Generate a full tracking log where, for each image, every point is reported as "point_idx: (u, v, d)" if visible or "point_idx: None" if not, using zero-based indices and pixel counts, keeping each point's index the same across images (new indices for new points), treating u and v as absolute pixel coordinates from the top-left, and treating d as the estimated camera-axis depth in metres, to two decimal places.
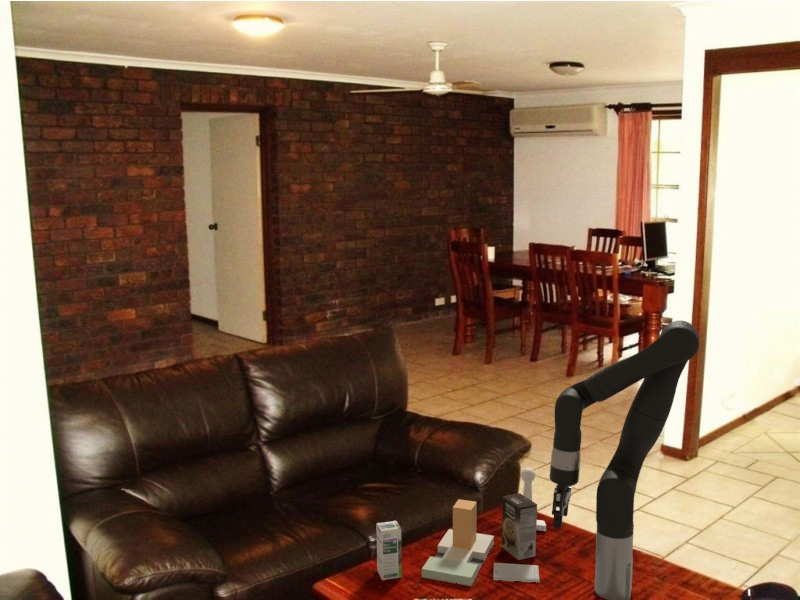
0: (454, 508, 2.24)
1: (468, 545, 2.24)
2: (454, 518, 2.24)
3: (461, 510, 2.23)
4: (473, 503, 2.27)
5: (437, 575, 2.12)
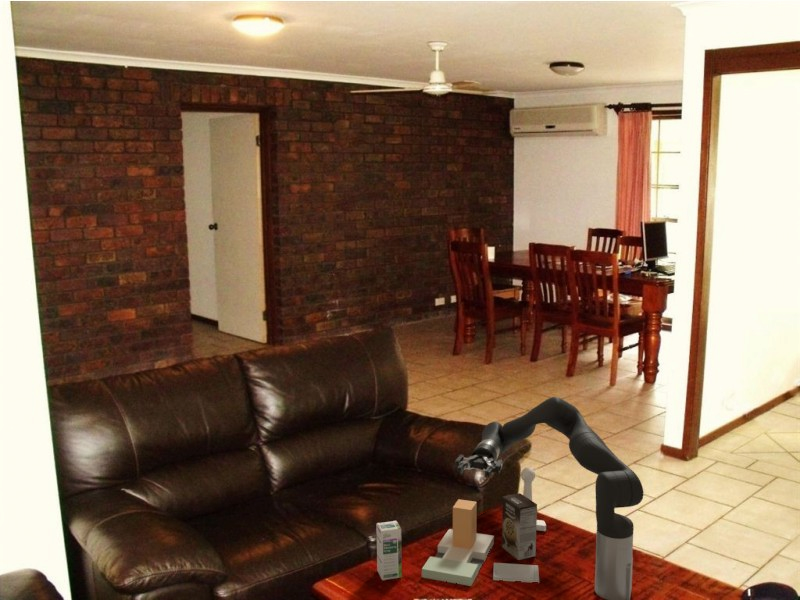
0: (454, 508, 2.24)
1: (468, 545, 2.24)
2: (454, 518, 2.24)
3: (461, 510, 2.23)
4: (473, 503, 2.27)
5: (437, 575, 2.12)
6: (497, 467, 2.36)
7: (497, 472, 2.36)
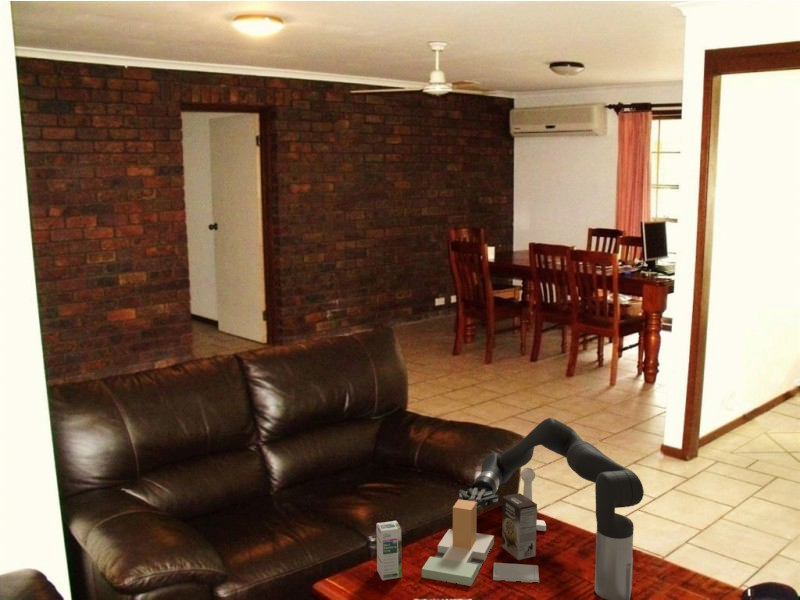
0: (454, 508, 2.24)
1: (468, 545, 2.24)
2: (454, 518, 2.24)
3: (461, 510, 2.23)
4: (473, 503, 2.27)
5: (437, 575, 2.12)
6: (482, 500, 2.37)
7: (482, 505, 2.37)
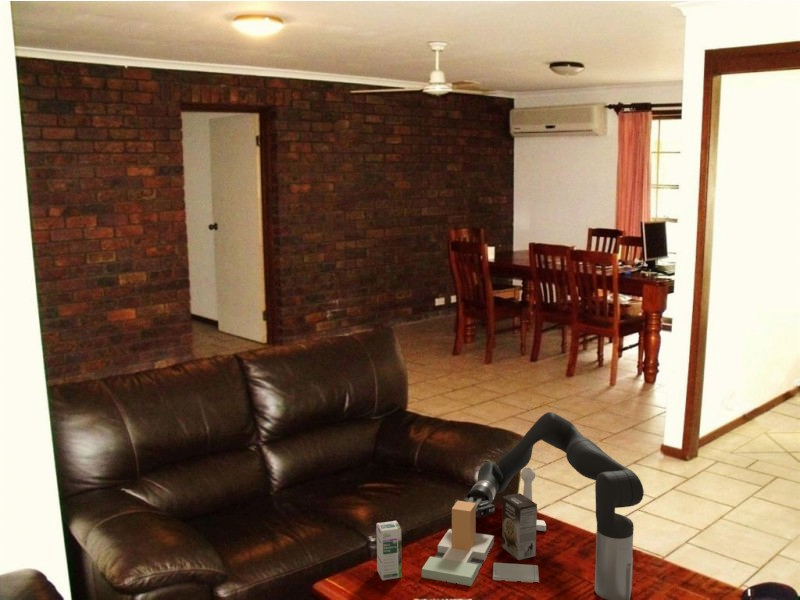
0: (453, 509, 2.23)
1: (467, 547, 2.23)
2: (453, 519, 2.24)
3: (460, 511, 2.22)
4: (472, 504, 2.26)
5: (437, 575, 2.12)
6: (478, 510, 2.32)
7: (478, 515, 2.32)
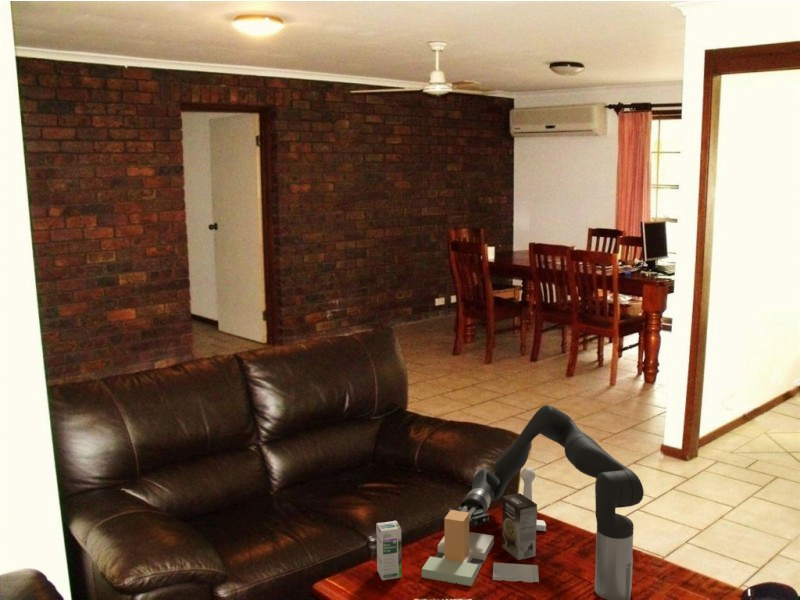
0: (446, 519, 2.17)
1: (460, 558, 2.17)
2: (446, 530, 2.17)
3: (453, 521, 2.16)
4: (465, 514, 2.19)
5: (437, 575, 2.12)
6: (472, 519, 2.25)
7: (472, 525, 2.26)
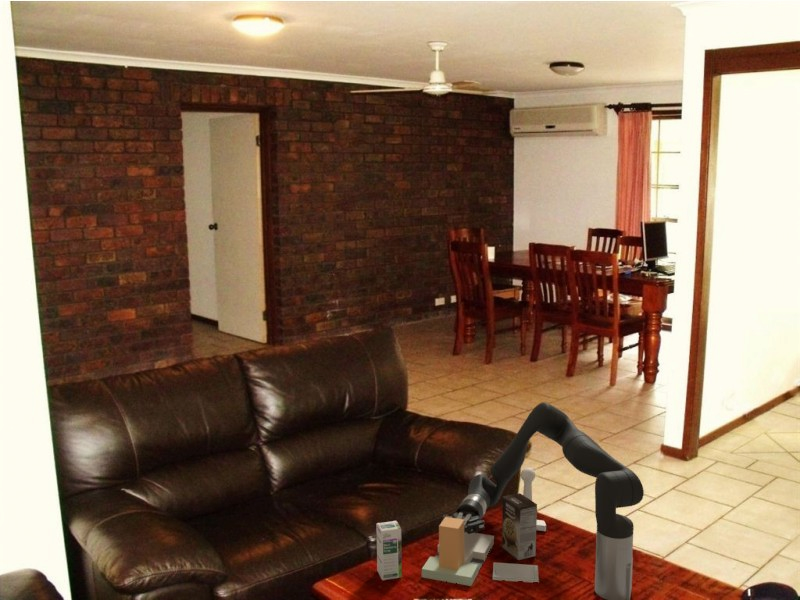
0: (440, 527, 2.12)
1: (455, 566, 2.12)
2: (440, 537, 2.13)
3: (448, 528, 2.11)
4: (461, 521, 2.15)
5: (437, 575, 2.12)
6: (467, 526, 2.21)
7: (468, 532, 2.21)
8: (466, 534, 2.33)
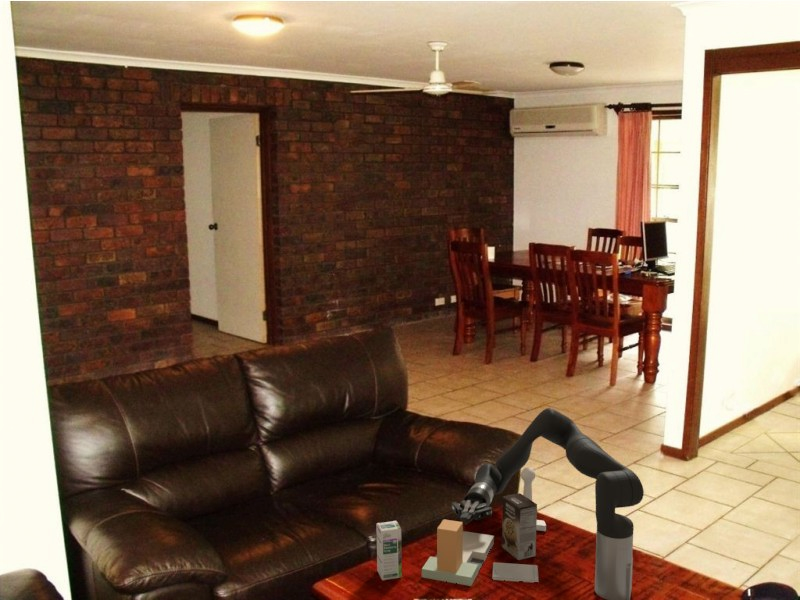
0: (438, 529, 2.11)
1: (453, 568, 2.11)
2: (438, 540, 2.11)
3: (446, 531, 2.10)
4: (459, 524, 2.13)
5: (437, 575, 2.12)
6: (475, 513, 2.29)
7: (475, 518, 2.30)
8: (466, 534, 2.33)
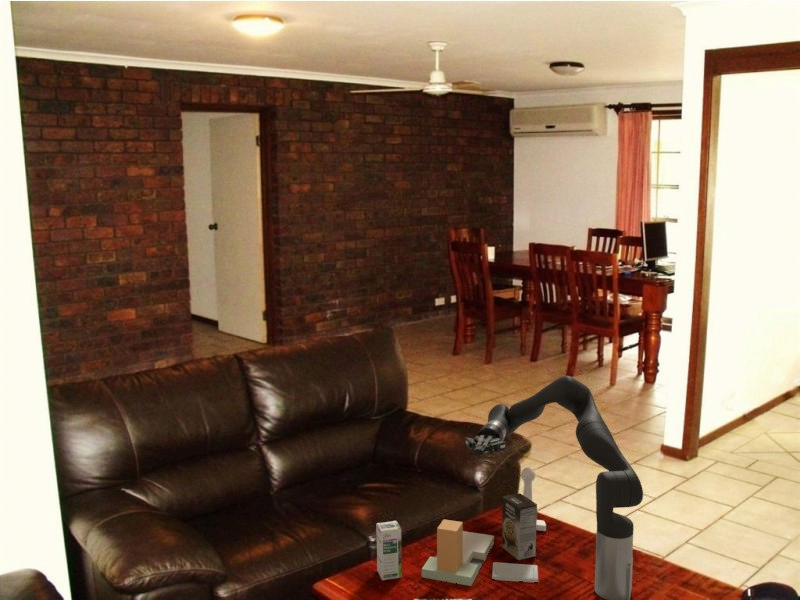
0: (438, 529, 2.11)
1: (453, 568, 2.11)
2: (438, 540, 2.11)
3: (446, 531, 2.10)
4: (459, 524, 2.13)
5: (437, 575, 2.12)
6: (489, 446, 2.33)
7: (489, 451, 2.33)
8: (466, 534, 2.33)
